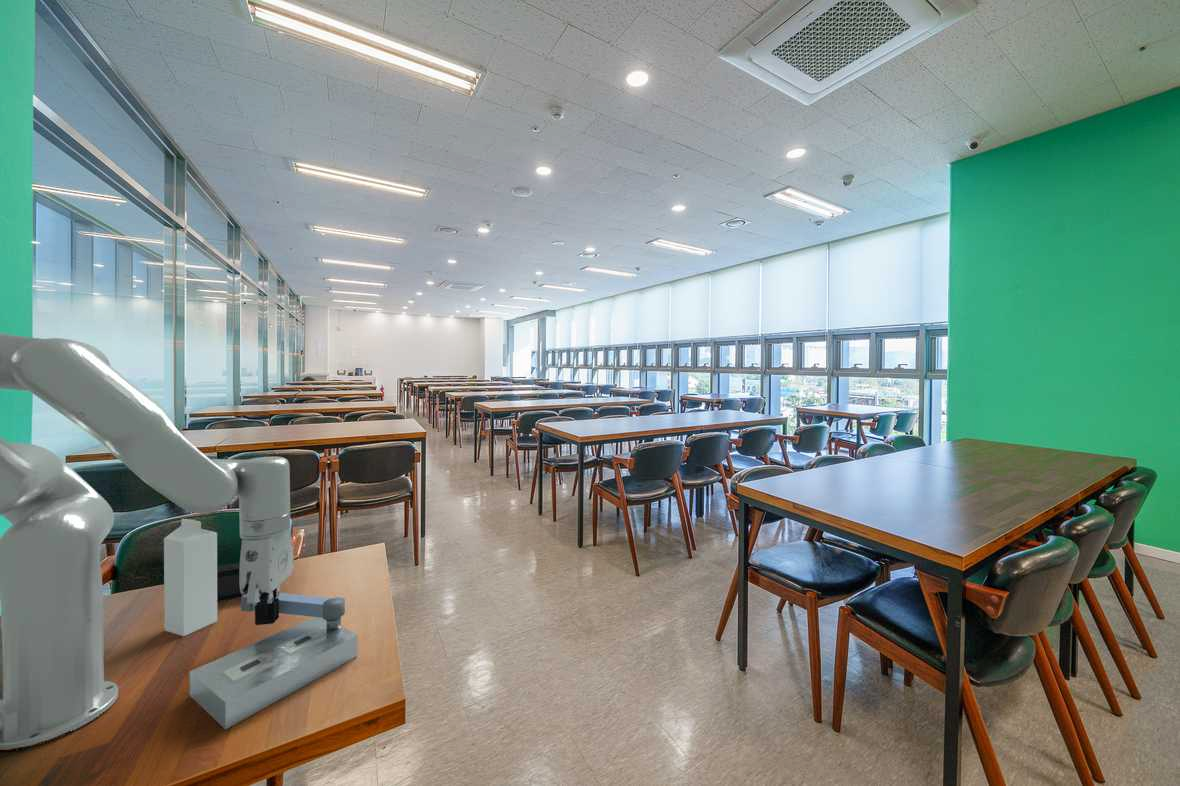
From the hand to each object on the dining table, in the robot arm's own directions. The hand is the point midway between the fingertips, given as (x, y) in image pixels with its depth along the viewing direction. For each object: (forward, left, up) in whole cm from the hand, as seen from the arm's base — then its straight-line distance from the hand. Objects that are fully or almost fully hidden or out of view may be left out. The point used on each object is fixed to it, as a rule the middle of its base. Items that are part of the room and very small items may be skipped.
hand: (267, 621), depth 81 cm
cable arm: (+4, -1, 0) cm, 4 cm away
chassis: (-2, -8, -6) cm, 10 cm away
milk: (-4, +23, -6) cm, 24 cm away
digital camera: (+8, +30, -6) cm, 32 cm away
